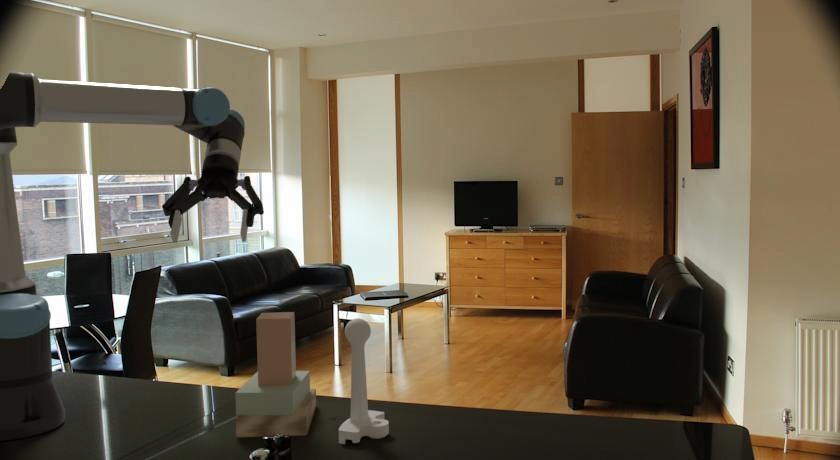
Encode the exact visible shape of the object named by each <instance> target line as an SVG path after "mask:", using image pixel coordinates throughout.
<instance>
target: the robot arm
mask: <svg viewBox="0 0 840 460" xmlns="http://www.w3.org/2000/svg"><path fill="white" fill-rule="evenodd" d="M9 71H10V73H9V75H8V77H7V79H6V81H5V83H4V85H3V86H2V88H1V89H0V442H1V441H2V442H4V441H10V440H11V441H12V440H18V439H24V438H28V437H33V436H38V435H40V434H41V435H42V434H43V433H48V432H49V431H51V430H54V429H57V428H58V427H60V426H62V425H63V424H64V422H65V421H66V413H65V411H66V410H65V406H64V404H63V400H62V398H61V396H60V394H59V392H58V389H57V388H56V387H57V386H56V385H55V382H54V379H53V361H52V359H53V358H52V343H51V342H52V341H51V340H52V339H51V323H50V322H51V317H52V315H51V311H50V305H49V303H48V301H47V300H46V298H45V297H43V296H40V295H37V288H36V282H35V281H34V280H32V279H31V278H29V277H28V276H27V275H26V271H25V262H24V253H23V248H22V240H21V239H22V238H21V231H20V224H19V218H18V209H17V202H16V194H15V187H14V186H15V185H14V179H13V171H12V164H11V152H12V151H13V150H14V149H15V148H16V147H17V145H18V138H17V133H16V128H23V127H24V128H26V127H27V128H35V127H37V125H39V124H40V123H42V122H44V123H45V122H46V123H75V124H76V123H77V124H78V123H79V124H114V125H115V124H118V125H146V126H147V125H152V126H153V125H154V126H157V125H158V126H173V127H175V128H177V129H178V130H180V131H183V132H184V133H187V134H189V135H190V136H192V137H194V138H196V139H197V140H199V141H202V142H203V143H205V144H206V150H205V155H204V157H203V158H204V159H203V164H202V169H201V174H200V177H199V178H198V179H192V178H191V177H190V176H185V177H184V179H183V182H182V183H181V185H180V186H179V187H178V188H177V189H176V191H174V192H173V194H171V196H170V197H169V198H168V199H166V201H165V202H164V203H163V204H162V205H161V207H162V211H163V214H164V216H166V217H169V218H168V222H167V223H168V225H169V228H170V232H169V233H170V234H169V235H170V238H171V241H172V244H177V243H178V240H179V235H180V231H181V225H182V221H183V218H182V215H183V214H185V213H186V212H188V211H189V210H190V209H191V208H193V207H195V206H196V205H198V203H200V202H204V201H206V200H207V199H208V198H209V199H217V198H218V199H225V198H226V197H227V198H228V199H229V200H230V201H233V203H235V204H236V205H237V206H238V207H239V208H240V209H241V210H242V216H241V224H240V226H241V227H240V232H239V233H240V238H241V241H242V243H245V242H246V243H247V238H248V236H247V235H248V228H252V227H254V221H255V216H256V215H263V214H264V213H265V212H264V205H263V202H262V200H261V199H260V198H259V195H258V194H257V193H256V191H255V189H254V187H253V185H252V181H251V176H249V175H246V176H244V178H242V179H238V177H239V169H240V168H239V166H240V162H241V158H242V157H241V155H242V148H243V142H244V138H245V131H246V130H245V128H246V126H245V120H244V117H243V115H241V114H240V113H239V112H238V111H236V110H234V109H231V105H230V100H229V99H228V96H227V94H225V92H223V91H222V90H221V89H219V88H217V87H207V86H206V87H202V88H185V87H184V88H179V87H170V86H168V87H167V86H154V85H153V86H151V85H134V84H118V83H103V82H90V81H89V82H87V81H73V80H71V81H70V80H55V79H41V78H39V77H37V75H35V74H34V72H23V71H22V72H21V71H14V70H13V71H12V70H9ZM239 187H241V189H242V190H243V191H245V193H246V195H247V196H248V198H249V201H248V200H247V199H246V198H245V197H244V196H243V194H241V193H240V192H239V191H238V190H237V188H239Z"/></svg>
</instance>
